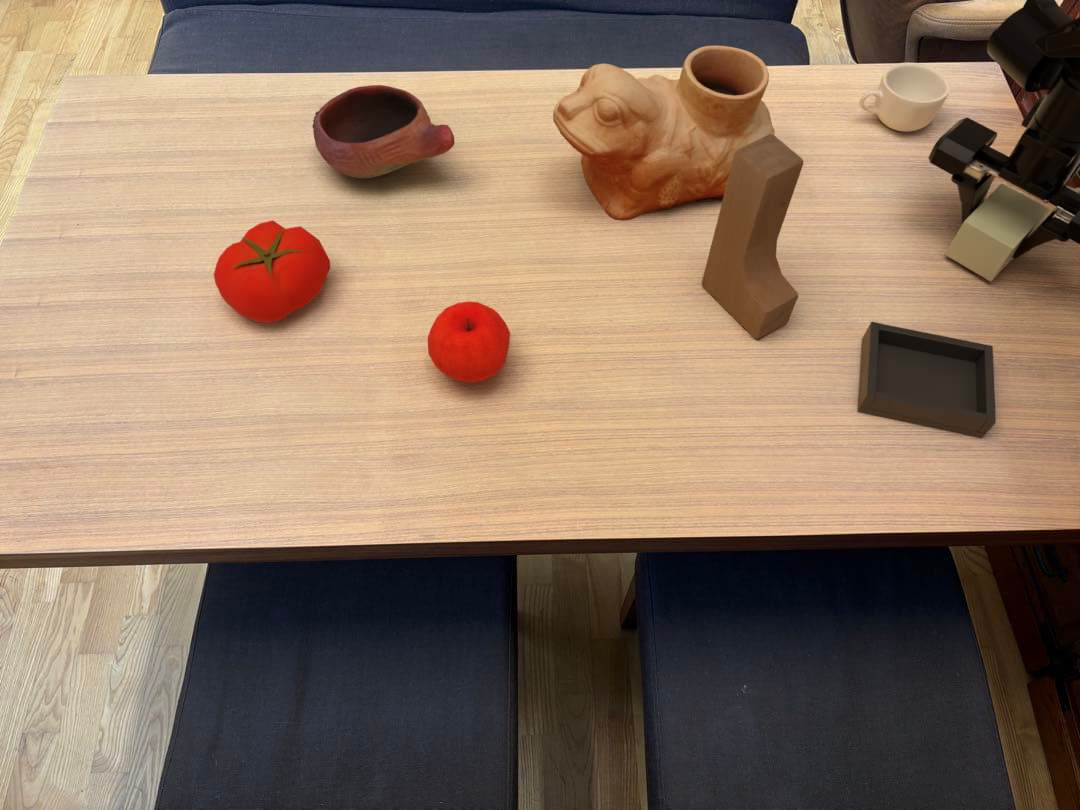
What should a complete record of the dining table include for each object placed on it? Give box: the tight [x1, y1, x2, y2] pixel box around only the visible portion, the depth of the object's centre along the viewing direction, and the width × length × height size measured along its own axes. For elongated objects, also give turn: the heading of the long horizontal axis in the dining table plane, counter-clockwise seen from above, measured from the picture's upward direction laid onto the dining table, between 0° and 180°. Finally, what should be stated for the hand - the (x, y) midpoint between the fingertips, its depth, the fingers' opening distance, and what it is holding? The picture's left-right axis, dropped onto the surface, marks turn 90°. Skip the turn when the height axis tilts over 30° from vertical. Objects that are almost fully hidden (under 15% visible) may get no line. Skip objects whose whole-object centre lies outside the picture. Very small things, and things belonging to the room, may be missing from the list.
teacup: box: [859, 62, 951, 133], centre depth 102 cm, size 10×8×5 cm
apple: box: [427, 300, 511, 383], centre depth 81 cm, size 8×8×7 cm
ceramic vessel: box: [552, 45, 776, 221], centre depth 93 cm, size 14×26×15 cm, turn 108°
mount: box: [856, 321, 997, 439], centre depth 82 cm, size 12×9×3 cm
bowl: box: [312, 84, 455, 179], centre depth 96 cm, size 16×13×8 cm
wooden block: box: [701, 134, 805, 340], centre depth 81 cm, size 9×4×18 cm, turn 33°
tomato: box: [213, 219, 331, 323], centre depth 86 cm, size 10×11×6 cm
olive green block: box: [944, 183, 1051, 283], centre depth 90 cm, size 8×6×5 cm
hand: (990, 242), depth 91 cm, fingers closed on olive green block, 5 cm apart
